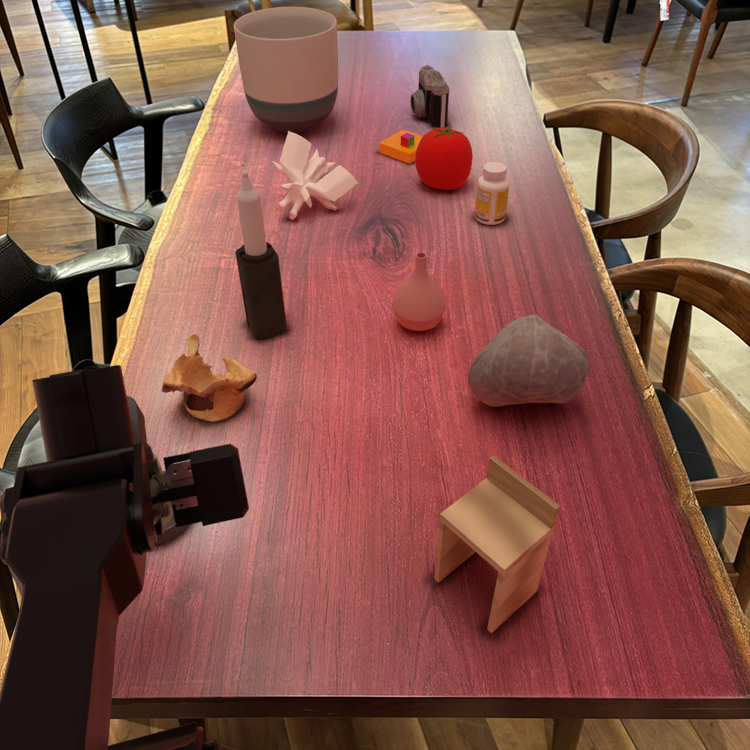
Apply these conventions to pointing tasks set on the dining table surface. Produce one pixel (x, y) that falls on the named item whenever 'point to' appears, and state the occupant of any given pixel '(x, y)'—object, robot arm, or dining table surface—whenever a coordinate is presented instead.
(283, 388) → the dining table surface
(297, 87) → the planter
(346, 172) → the figurine
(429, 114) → the camera
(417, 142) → the orange square tile
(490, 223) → the supplement bottle
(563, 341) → the decorative stone
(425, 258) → the pink bud vase
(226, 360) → the bone
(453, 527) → the miniature wooden chair
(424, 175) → the tomato
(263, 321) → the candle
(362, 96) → the dining table surface
